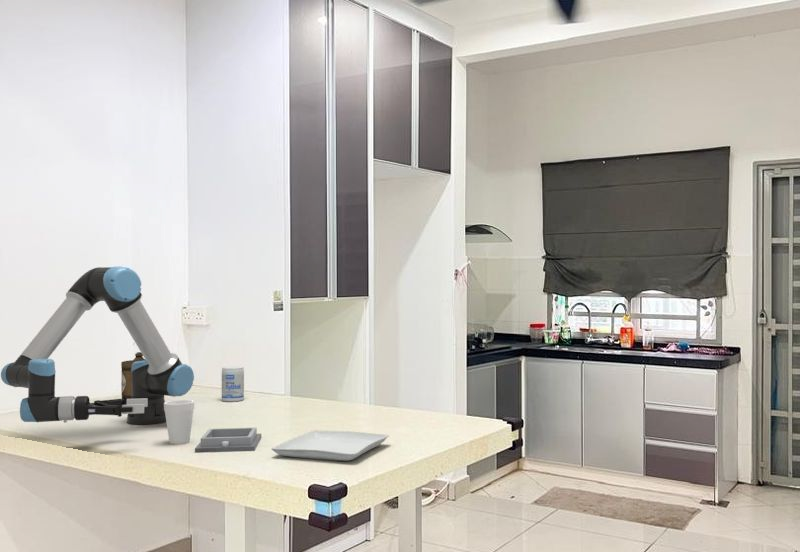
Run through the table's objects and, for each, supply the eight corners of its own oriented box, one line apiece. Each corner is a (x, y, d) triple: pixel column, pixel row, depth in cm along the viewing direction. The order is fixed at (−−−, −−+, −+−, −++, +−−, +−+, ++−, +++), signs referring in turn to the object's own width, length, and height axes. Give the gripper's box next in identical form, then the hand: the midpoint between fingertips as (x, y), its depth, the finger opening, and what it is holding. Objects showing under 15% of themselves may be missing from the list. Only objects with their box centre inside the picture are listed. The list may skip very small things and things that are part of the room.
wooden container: (129, 400, 337) (129, 350, 337) (162, 400, 337) (162, 350, 337) (115, 405, 322) (115, 354, 322) (150, 405, 322) (149, 353, 322)
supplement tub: (225, 403, 326) (225, 368, 326) (218, 400, 334) (218, 366, 334) (247, 400, 331) (246, 367, 331) (240, 398, 339) (239, 365, 339)
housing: (206, 438, 252) (206, 427, 252) (261, 437, 253) (261, 426, 253) (194, 452, 232) (194, 440, 232) (254, 450, 233) (254, 438, 233)
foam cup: (199, 439, 250) (199, 400, 250) (184, 445, 241) (184, 404, 242) (174, 438, 253) (174, 399, 253) (158, 444, 244) (158, 404, 244)
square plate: (313, 440, 249) (313, 428, 249) (390, 446, 239) (390, 433, 239) (270, 459, 223) (270, 446, 223) (354, 466, 213) (354, 452, 213)
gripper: (81, 414, 251) (148, 411, 256) (67, 427, 227) (142, 423, 232) (81, 391, 251) (148, 388, 256) (68, 401, 227) (142, 399, 232)
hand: (146, 405), depth 244 cm, fingers open, 13 cm apart
